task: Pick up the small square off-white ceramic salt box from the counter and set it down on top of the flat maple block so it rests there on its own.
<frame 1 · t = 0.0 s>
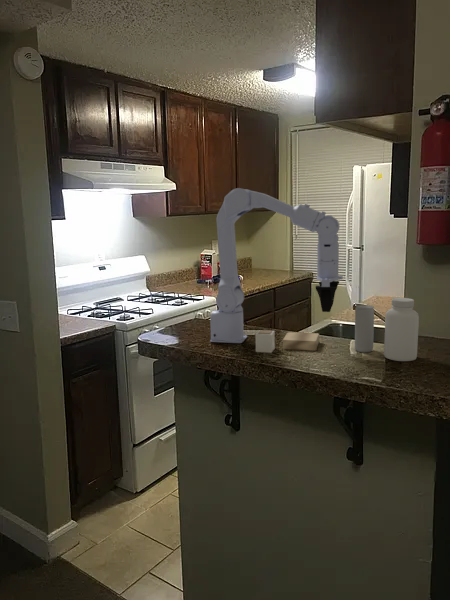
hand: (327, 309, 141), 10 cm above the worktop, tool pointing down, fingers open, 7 cm apart
salt box: (265, 350, 139), on the worktop
maple block: (301, 346, 143), on the worktop
pill bottle: (400, 358, 129), on the worktop
beverage can: (363, 351, 136), on the worktop
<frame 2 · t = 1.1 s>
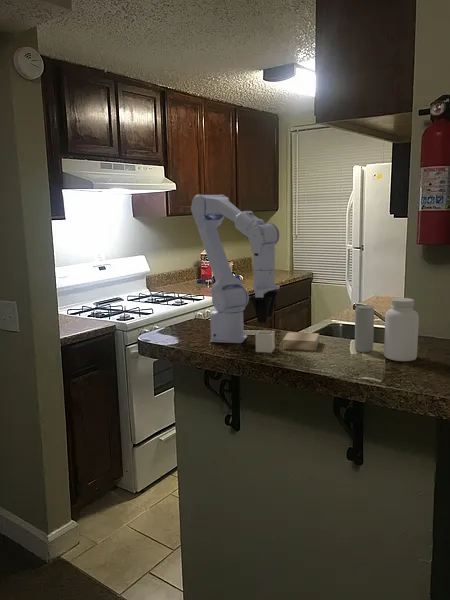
hand: (265, 319, 138), 8 cm above the worktop, tool pointing down, fingers open, 7 cm apart
nothing on the worktop moved.
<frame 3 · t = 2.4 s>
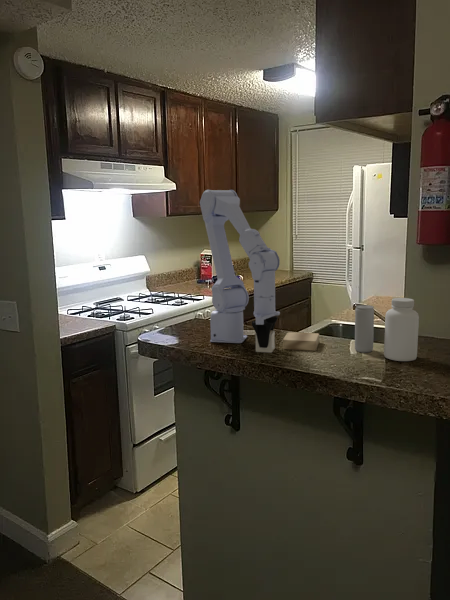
hand: (265, 344, 139), 1 cm above the worktop, tool pointing down, fingers closed on salt box, 4 cm apart
salt box: (265, 349, 139), on the worktop, touching gripper
everything else where it was.
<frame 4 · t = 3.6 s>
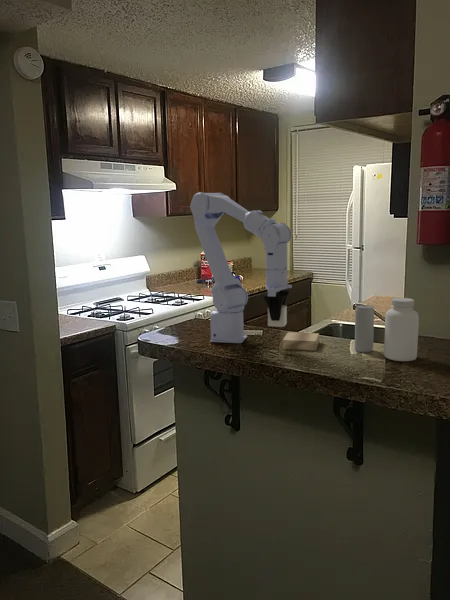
hand: (277, 318, 139), 8 cm above the worktop, tool pointing down, fingers closed on salt box, 4 cm apart
salt box: (277, 324, 139), point 7 cm above the worktop, touching gripper
everything else where it was.
when the fingers open (5 cm above the worktop, at t = 5.2 s): salt box stays where it is, point 2 cm above the worktop.
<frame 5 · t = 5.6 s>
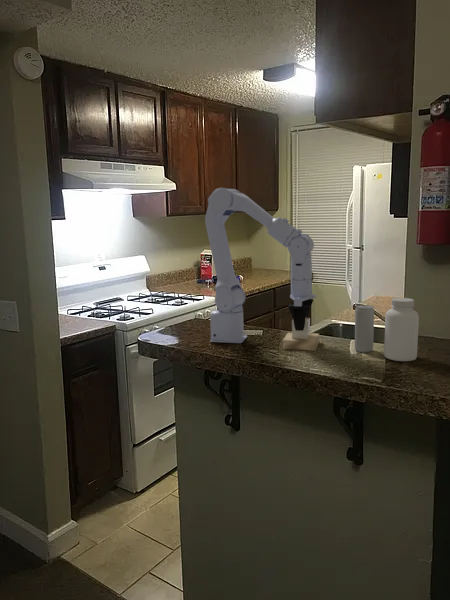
hand: (301, 327, 142), 5 cm above the worktop, tool pointing down, fingers open, 7 cm apart
salt box: (301, 336, 142), point 2 cm above the worktop
everything else where it was.
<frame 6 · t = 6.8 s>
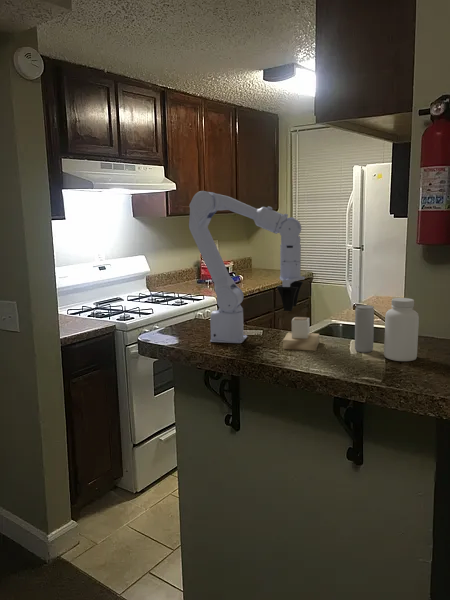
hand: (290, 308, 146), 10 cm above the worktop, tool pointing down, fingers open, 7 cm apart
nothing on the worktop moved.
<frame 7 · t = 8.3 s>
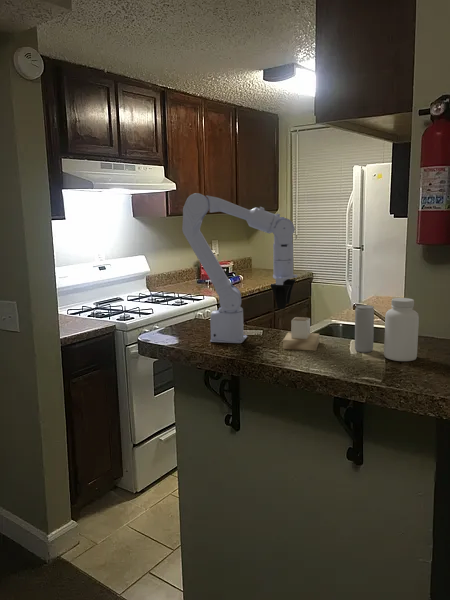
hand: (283, 306, 149), 10 cm above the worktop, tool pointing down, fingers open, 7 cm apart
salt box: (300, 336, 142), point 2 cm above the worktop, touching maple block
maple block: (301, 347, 143), on the worktop, touching salt box
everything else where it was.
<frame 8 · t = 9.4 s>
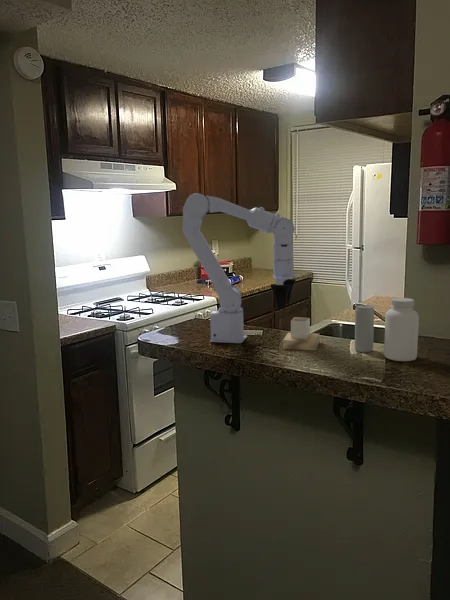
hand: (283, 306, 149), 10 cm above the worktop, tool pointing down, fingers open, 7 cm apart
salt box: (300, 336, 142), point 2 cm above the worktop
maple block: (301, 347, 143), on the worktop
everything else where it was.
at the end: salt box 0.3 cm off-centre on the maple block, point 3.0 cm above the maple block's base; salt box tilted 0°; the gripper is holding nothing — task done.
